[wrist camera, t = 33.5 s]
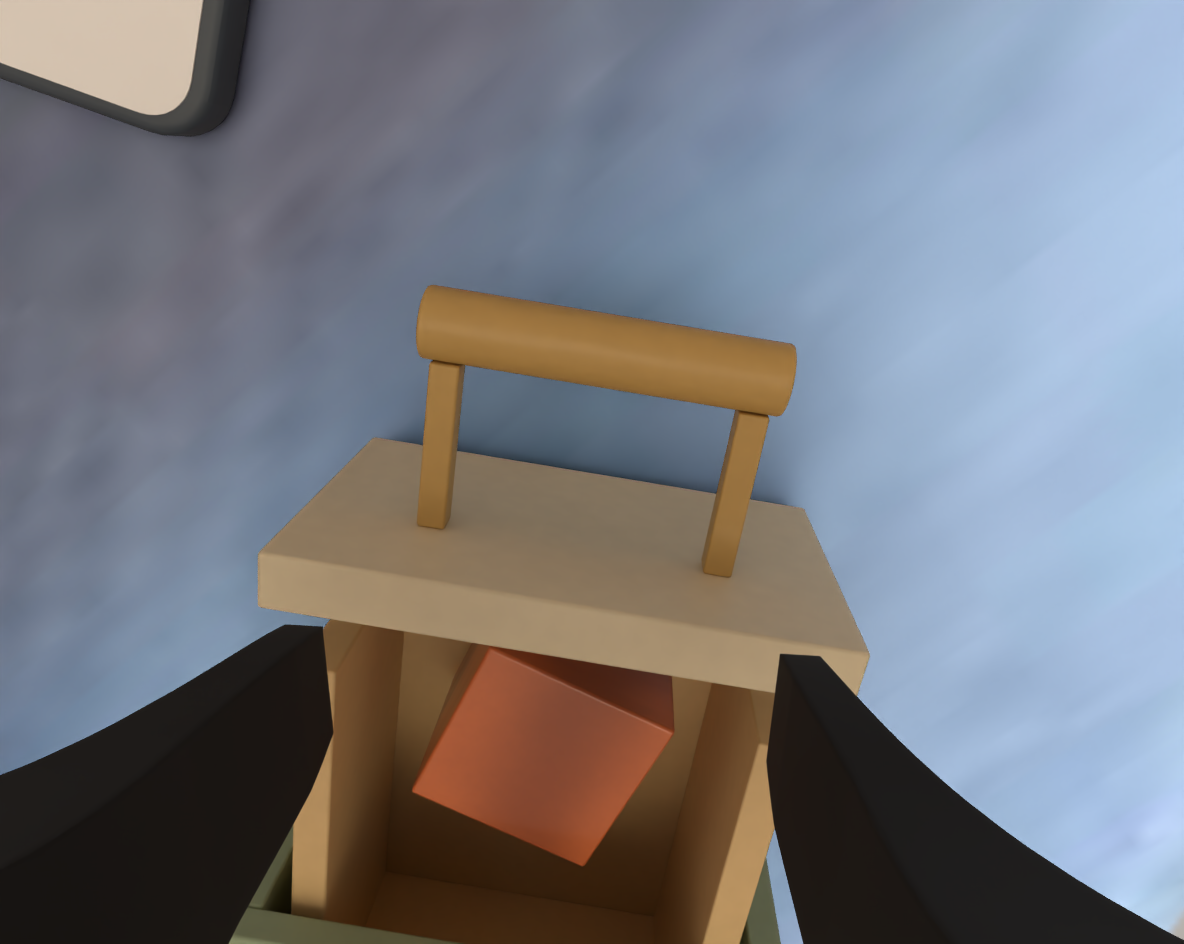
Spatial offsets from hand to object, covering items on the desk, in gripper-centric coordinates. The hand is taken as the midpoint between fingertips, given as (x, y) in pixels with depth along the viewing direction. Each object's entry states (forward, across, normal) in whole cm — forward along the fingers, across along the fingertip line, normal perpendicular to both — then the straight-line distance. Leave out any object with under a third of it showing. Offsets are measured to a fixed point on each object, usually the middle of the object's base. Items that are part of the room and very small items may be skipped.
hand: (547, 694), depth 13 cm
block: (+8, +1, +4) cm, 9 cm away
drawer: (+9, +1, +4) cm, 10 cm away
